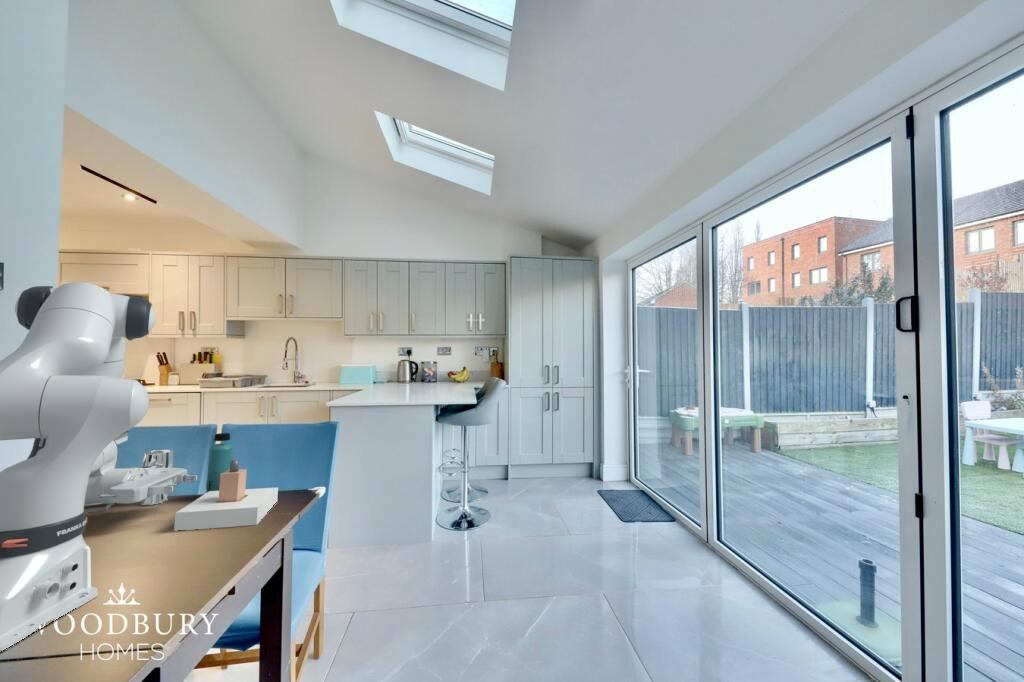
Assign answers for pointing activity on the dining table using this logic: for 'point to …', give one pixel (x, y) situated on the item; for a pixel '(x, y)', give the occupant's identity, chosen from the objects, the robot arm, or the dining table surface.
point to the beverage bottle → (218, 461)
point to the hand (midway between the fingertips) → (185, 483)
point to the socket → (226, 510)
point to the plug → (232, 484)
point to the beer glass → (160, 461)
